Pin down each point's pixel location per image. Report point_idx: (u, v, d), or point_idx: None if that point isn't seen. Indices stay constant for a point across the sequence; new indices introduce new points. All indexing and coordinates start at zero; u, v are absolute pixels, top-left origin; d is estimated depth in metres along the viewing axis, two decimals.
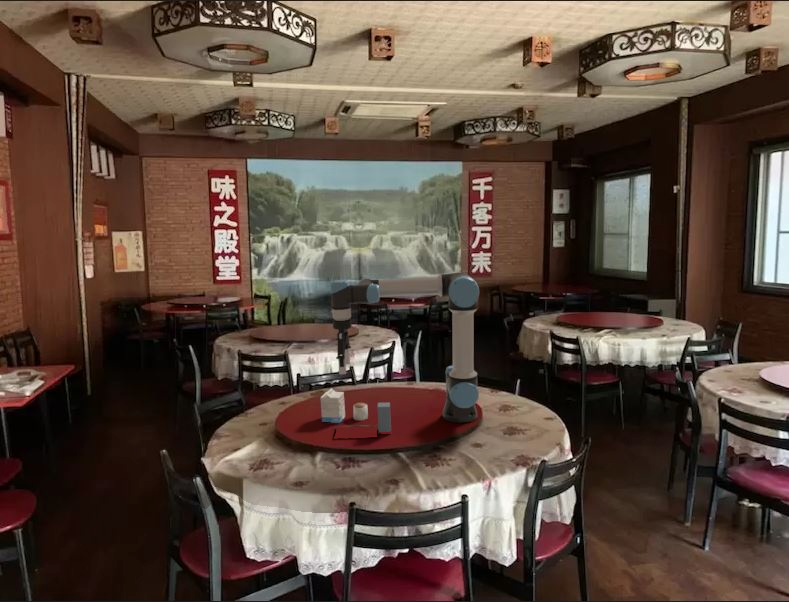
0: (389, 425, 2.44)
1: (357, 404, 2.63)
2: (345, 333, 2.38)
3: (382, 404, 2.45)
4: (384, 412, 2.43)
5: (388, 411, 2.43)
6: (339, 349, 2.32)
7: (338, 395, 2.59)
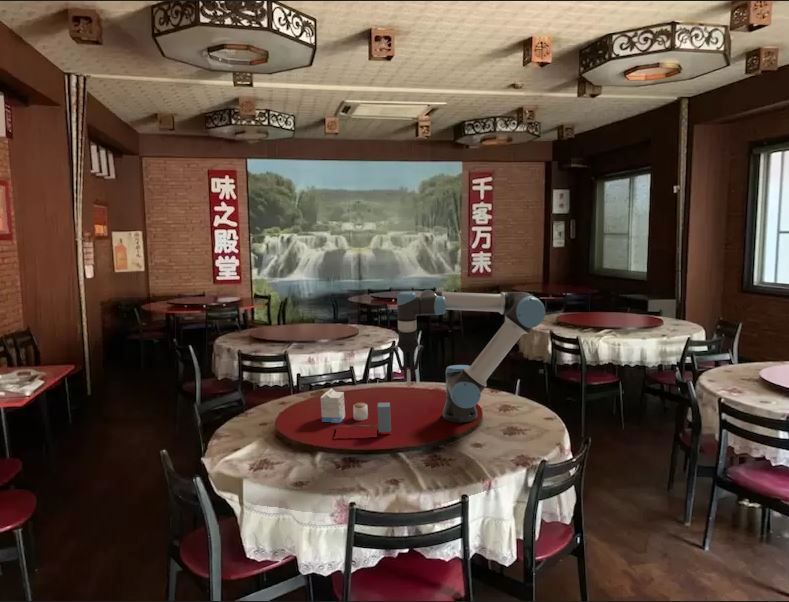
0: (389, 425, 2.44)
1: (357, 404, 2.63)
2: (403, 345, 2.39)
3: (382, 404, 2.45)
4: (384, 412, 2.43)
5: (388, 411, 2.43)
6: None
7: (338, 395, 2.59)
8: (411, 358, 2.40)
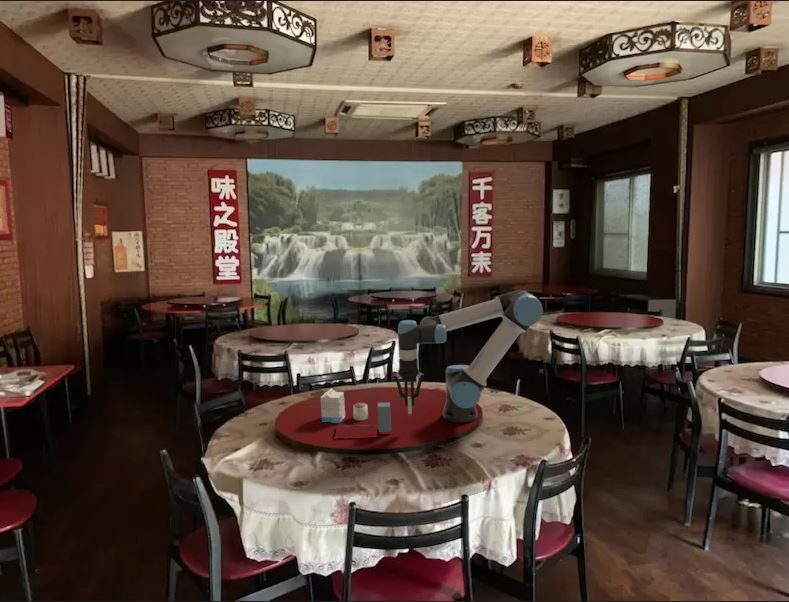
0: (389, 425, 2.44)
1: (357, 404, 2.63)
2: (404, 373, 2.41)
3: (382, 404, 2.45)
4: (384, 412, 2.43)
5: (388, 411, 2.43)
6: None
7: (338, 395, 2.59)
8: (412, 386, 2.42)
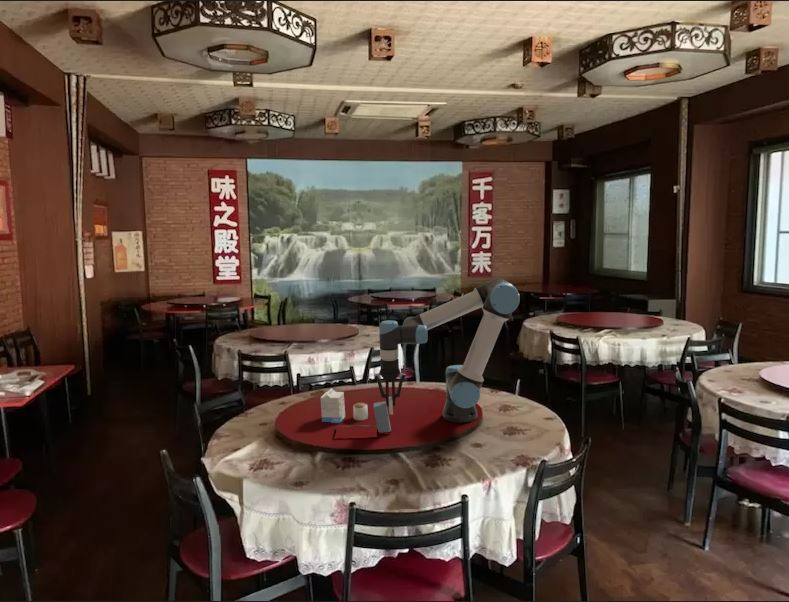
0: (388, 424, 2.44)
1: (357, 404, 2.63)
2: (385, 374, 2.41)
3: (378, 404, 2.45)
4: (381, 411, 2.43)
5: (385, 410, 2.43)
6: None
7: (338, 395, 2.59)
8: (393, 386, 2.42)
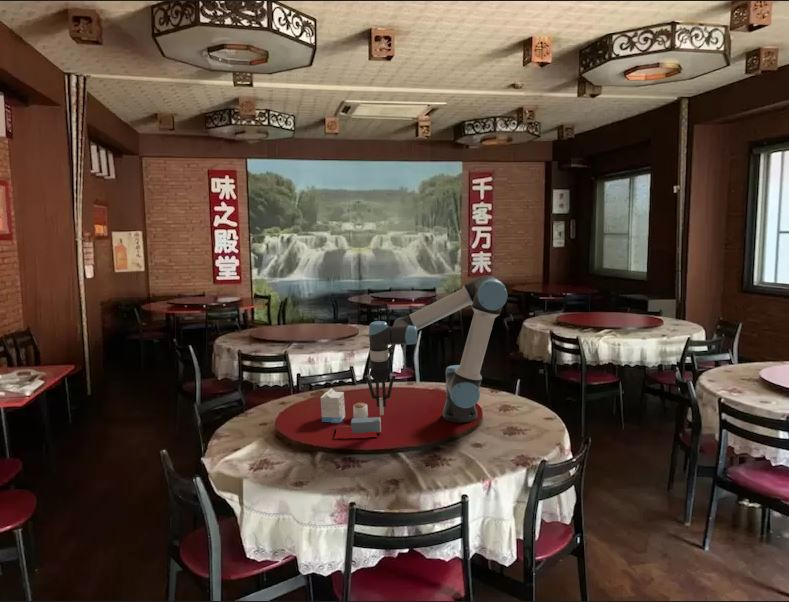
0: (371, 423, 2.44)
1: (357, 404, 2.63)
2: (375, 375, 2.41)
3: None
4: (357, 427, 2.44)
5: (356, 423, 2.44)
6: None
7: (338, 395, 2.59)
8: (383, 387, 2.42)
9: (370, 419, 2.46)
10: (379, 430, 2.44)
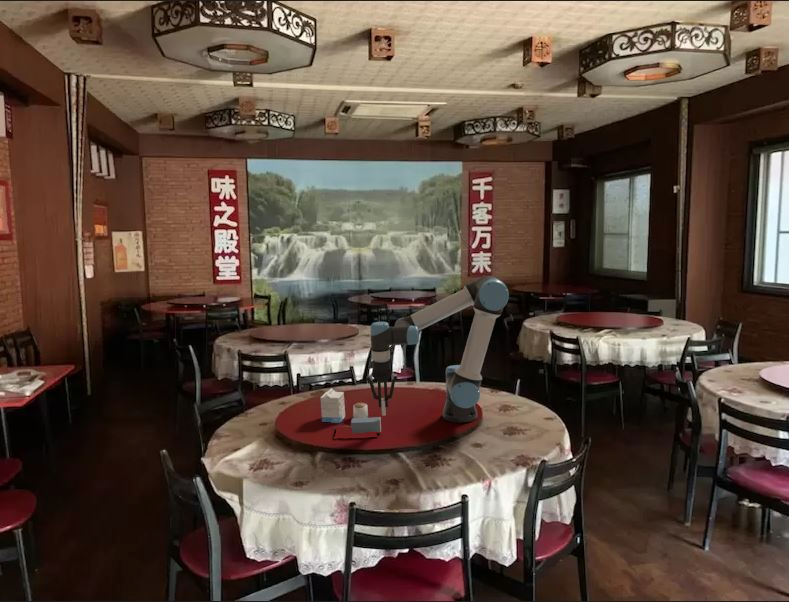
0: (371, 423, 2.44)
1: (357, 404, 2.63)
2: (377, 375, 2.41)
3: None
4: (357, 427, 2.44)
5: (356, 423, 2.44)
6: None
7: (338, 395, 2.59)
8: (385, 387, 2.42)
9: (370, 419, 2.46)
10: (379, 430, 2.44)
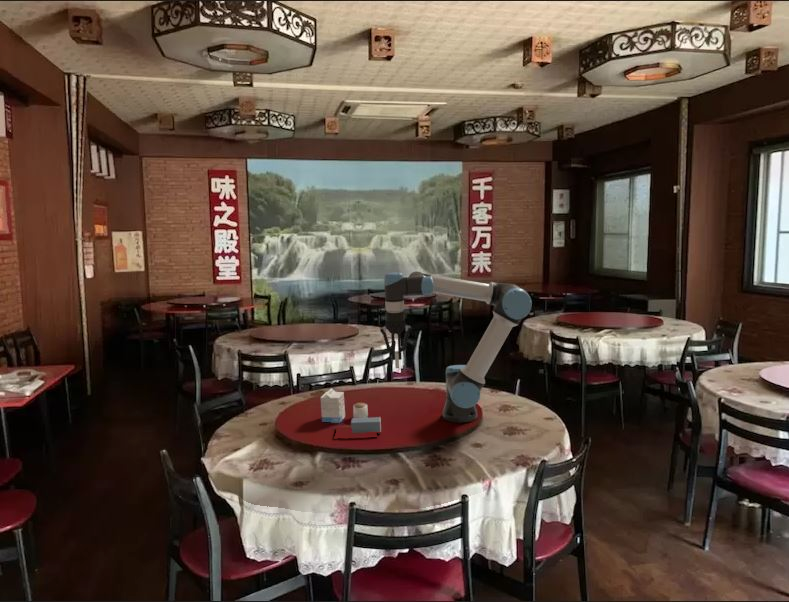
0: (371, 423, 2.44)
1: (357, 404, 2.63)
2: (391, 326, 2.38)
3: None
4: (357, 427, 2.44)
5: (356, 423, 2.44)
6: None
7: (338, 395, 2.59)
8: (399, 339, 2.39)
9: (370, 419, 2.46)
10: (379, 430, 2.44)
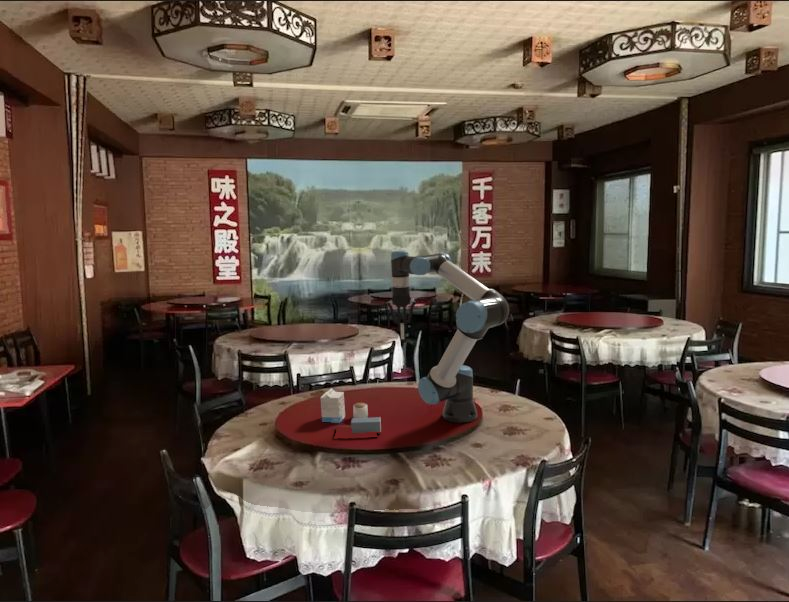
0: (371, 423, 2.44)
1: (357, 404, 2.63)
2: (397, 300, 2.58)
3: None
4: (357, 427, 2.44)
5: (356, 423, 2.44)
6: None
7: (338, 395, 2.59)
8: (404, 312, 2.59)
9: (370, 419, 2.46)
10: (379, 430, 2.44)
